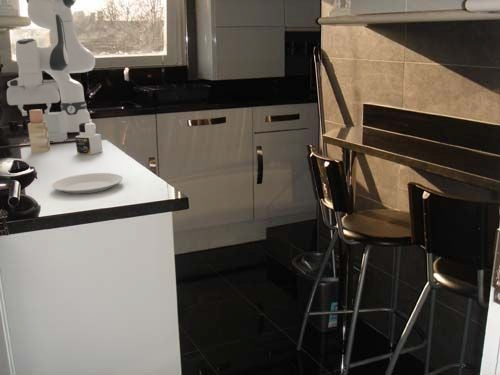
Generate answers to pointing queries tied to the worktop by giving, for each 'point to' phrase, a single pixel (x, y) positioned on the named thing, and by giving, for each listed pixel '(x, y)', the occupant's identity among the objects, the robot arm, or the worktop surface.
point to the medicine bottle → (88, 139)
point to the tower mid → (39, 137)
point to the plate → (87, 183)
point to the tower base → (40, 147)
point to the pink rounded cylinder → (36, 116)
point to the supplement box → (56, 126)
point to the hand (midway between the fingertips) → (36, 115)
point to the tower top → (37, 127)
